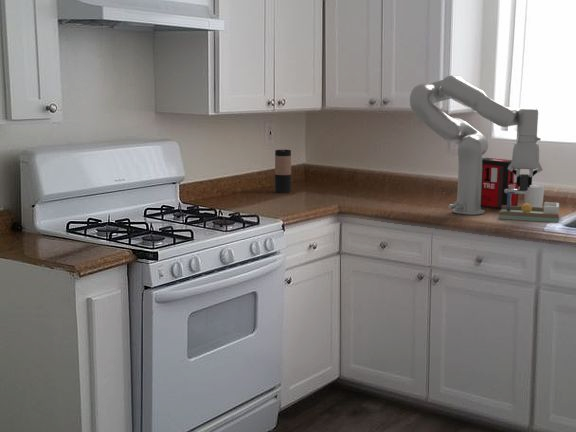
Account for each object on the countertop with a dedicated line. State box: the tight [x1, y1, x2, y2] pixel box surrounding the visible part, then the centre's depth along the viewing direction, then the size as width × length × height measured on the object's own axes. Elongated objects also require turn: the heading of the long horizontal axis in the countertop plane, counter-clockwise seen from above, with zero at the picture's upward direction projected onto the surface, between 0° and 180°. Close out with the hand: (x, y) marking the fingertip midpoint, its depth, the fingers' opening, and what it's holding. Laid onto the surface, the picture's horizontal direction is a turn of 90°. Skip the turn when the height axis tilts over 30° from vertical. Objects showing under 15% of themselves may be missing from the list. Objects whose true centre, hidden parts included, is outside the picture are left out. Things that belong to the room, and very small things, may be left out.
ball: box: [521, 202, 532, 213], centre depth 313 cm, size 4×4×4 cm
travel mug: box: [274, 149, 292, 194], centre depth 377 cm, size 8×8×20 cm
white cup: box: [524, 184, 545, 207], centre depth 331 cm, size 8×8×10 cm
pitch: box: [498, 205, 560, 223], centre depth 313 cm, size 22×16×3 cm
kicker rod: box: [504, 173, 530, 211], centre depth 314 cm, size 9×6×15 cm
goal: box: [543, 201, 560, 215], centre depth 311 cm, size 6×11×4 cm, turn 161°
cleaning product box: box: [481, 157, 520, 210], centre depth 338 cm, size 16×9×20 cm, turn 43°
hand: (523, 186), depth 312 cm, fingers closed on kicker rod, 3 cm apart
